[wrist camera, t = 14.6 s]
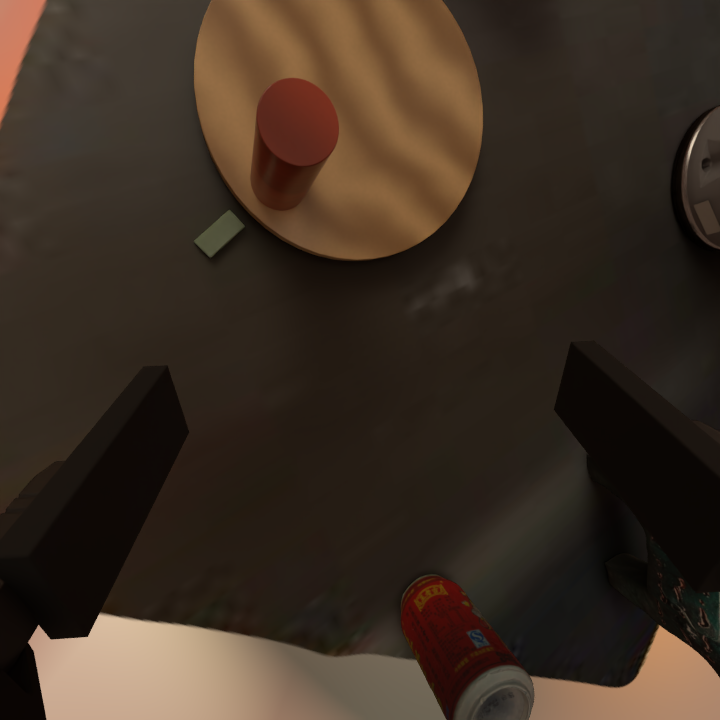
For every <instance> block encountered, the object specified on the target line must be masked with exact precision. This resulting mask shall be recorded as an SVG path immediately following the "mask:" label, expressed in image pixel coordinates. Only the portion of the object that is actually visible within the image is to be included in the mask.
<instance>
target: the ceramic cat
mask: <svg viewBox="0 0 720 720" xmlns="http://www.w3.org/2000/svg"><path fill="white" fill-rule="evenodd" d="M587 466H588V471H589V474H590V476H591V478H592V480H594V481H595V482H597V483H599V484H601V485H603V486H604V487H606V488H607V489H609V490H610V491H611V492H612V493H614V494H615V495H616V496H617V497H619V498H620V499H621V500H622V501H624V500H623V498H622V497H621V496H620V494H619V493H618V492H617V491H616V489H615V488H614V487H613V485H612V484H611V483H610V482H609V480H608V479H607V478H606V476H605V475H604V474H603V472H602V471H601V470H600V469H599V467H598V466H597V465H596V463H595V462H594V461H593V460H592V458H591V457H590V456H589V455H587ZM624 502H625V501H624ZM625 504H626V502H625ZM626 505H627V504H626ZM627 506H628V505H627ZM628 507H629V506H628ZM629 509H630V507H629ZM630 510H631V509H630ZM631 511H632V510H631ZM632 512H633V511H632ZM633 514H634V513H633ZM634 515H635V514H634ZM635 516H636V515H635ZM636 518H637V516H636ZM637 519H638V518H637ZM638 521H639V522H640V520H639V519H638ZM640 524H641V525H642V527H643V529H644V531H645V534H646V542H647V551H648V563H647V562H645V561H643V560H641V559H638V558H636V557H634V556H632V555H630V554H628V553H621V554H619V555H616V556H615V557H613V558H612V559H610V560H609V561H607V562H605V566H606V568H607V571H608V579H609V583H610V585H611V586H613V587H614V588H615V589H616V590H617V591H619V592H620V593H621V594H622V595H623V596H624V597H626V598H627V599H628V600H630V601H631V602H632V603H634V604H635V605H636V606H638V607H639V608H640V609H642V610H643V611H644V612H646V613H647V614H648V615H649V616H650V617H651V618H652V619H653V620H655V621H656V622H657V623H658V624H659V625H660V626H662V627H663V628H664V629H666V630H667V631H668V632H670V633H671V634H673V635H675V636H677V637H678V638H679V639H681V640H682V641H683V642H685V643H686V644H688V645H689V646H690V647H692V648H693V649H694V650H695V651H697V652H698V653H699V654H700V655H701V656H702V657H703V658H704V659H705V660H707V662H708V663H709V664H710V665H711V666H712V668H713V669H714V670H715V671H716V673H717V674H718V676H719V677H720V592H708V593H695V591H694V590H693V589H692V588H691V586H690V585H689V584H688V582H687V581H686V580H685V579H684V577H683V576H682V575H681V573H680V572H679V571H678V569H677V568H676V567H675V566H674V564H673V563H672V562H671V560H670V559H669V558H668V557H667V555H666V554H665V553H664V551H663V550H662V549H661V547H660V546H659V545H658V544H657V542H656V541H655V540H654V538H653V537H652V536H651V535H650V533H649V532H648V531H647V529H646V528H645V527H644V525H643V524H642V523H641V522H640Z"/></svg>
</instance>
